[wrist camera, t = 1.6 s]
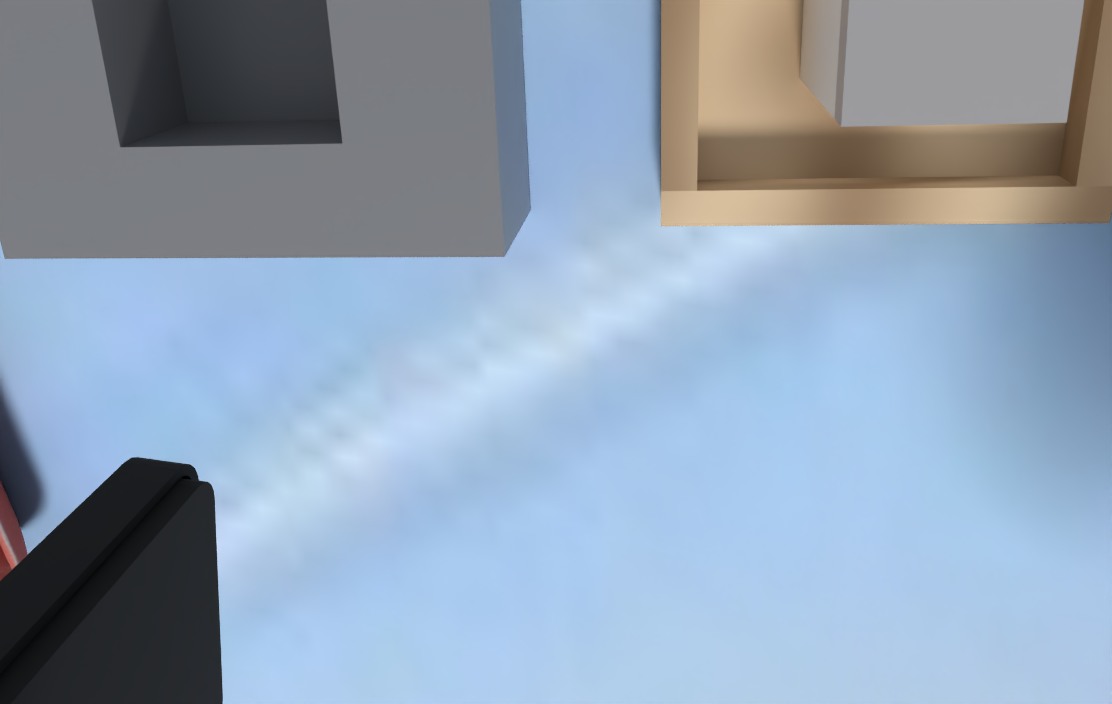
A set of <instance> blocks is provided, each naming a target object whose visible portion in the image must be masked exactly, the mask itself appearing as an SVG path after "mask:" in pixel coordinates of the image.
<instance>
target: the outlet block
mask: <svg viewBox="0 0 1112 704" xmlns="http://www.w3.org/2000/svg"><path fill="white" fill-rule="evenodd" d="M529 212H530V188H529V167H528V146H527V125H526V104H525V82H524V61H523V40H522V19H521V0H0V241H1V245H2V249H3V253H4V257H5V259H22V258H296V257H504V256H505V255H506V253H507V251H508V249H509V248H510V246H511V244H512V242H513V241H514V239H515V237H516V235H517V233H518V232H519V230H520V228H521V226H522V225H523V223H524V221H525V219H526V217H527V216H528V214H529Z"/></svg>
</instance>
